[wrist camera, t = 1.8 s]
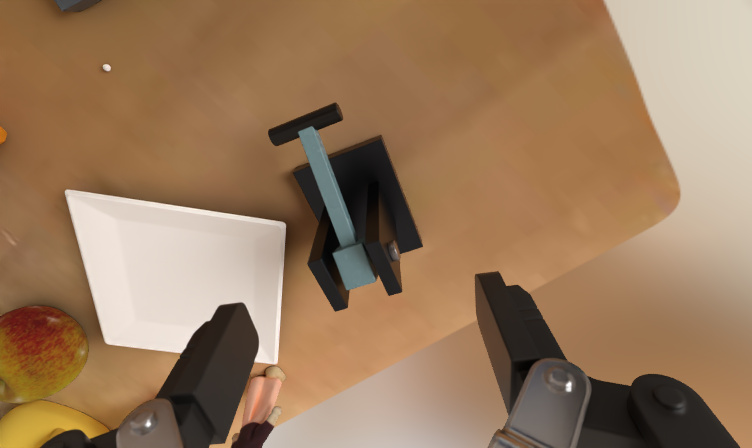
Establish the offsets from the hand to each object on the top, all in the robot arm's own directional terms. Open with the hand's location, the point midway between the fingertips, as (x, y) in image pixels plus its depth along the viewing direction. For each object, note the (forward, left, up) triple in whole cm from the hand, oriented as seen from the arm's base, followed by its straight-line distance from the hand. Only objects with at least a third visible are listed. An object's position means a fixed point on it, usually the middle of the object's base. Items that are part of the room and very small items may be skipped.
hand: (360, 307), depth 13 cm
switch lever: (+3, +2, -14) cm, 15 cm away
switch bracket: (+3, +5, -20) cm, 21 cm away
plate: (+22, +7, -21) cm, 31 cm away
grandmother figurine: (+23, +23, -21) cm, 39 cm away
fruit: (+40, +7, -21) cm, 46 cm away
